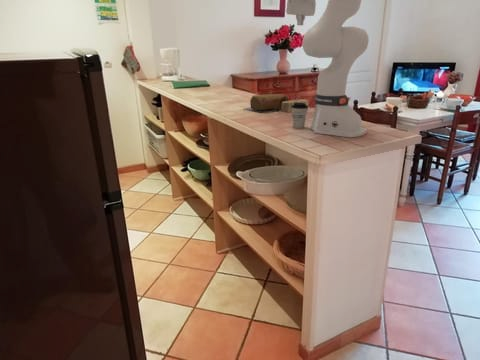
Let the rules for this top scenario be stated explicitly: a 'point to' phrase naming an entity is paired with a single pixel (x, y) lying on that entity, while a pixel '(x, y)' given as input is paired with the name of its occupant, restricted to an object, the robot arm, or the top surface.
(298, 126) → the coffee cup
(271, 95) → the block
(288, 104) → the oak post
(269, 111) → the grey rubber mat
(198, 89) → the top surface
